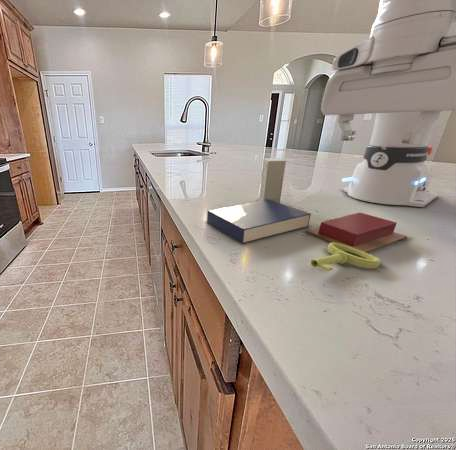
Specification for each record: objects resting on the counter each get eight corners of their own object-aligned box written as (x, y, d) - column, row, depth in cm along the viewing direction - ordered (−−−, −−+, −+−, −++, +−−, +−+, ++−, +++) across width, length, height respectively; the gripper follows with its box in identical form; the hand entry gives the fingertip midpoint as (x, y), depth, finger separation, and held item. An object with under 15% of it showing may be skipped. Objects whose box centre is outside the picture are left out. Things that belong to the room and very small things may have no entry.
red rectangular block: (356, 222, 53) (359, 212, 52) (392, 233, 47) (397, 222, 46) (318, 233, 49) (320, 222, 48) (352, 246, 43) (356, 234, 42)
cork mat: (350, 220, 55) (351, 219, 55) (406, 238, 46) (407, 236, 46) (306, 232, 50) (307, 230, 50) (360, 254, 42) (361, 252, 41)
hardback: (265, 210, 63) (267, 199, 62) (308, 226, 53) (311, 213, 52) (206, 222, 57) (207, 210, 56) (242, 243, 47) (243, 229, 46)
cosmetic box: (279, 207, 65) (287, 160, 60) (261, 206, 66) (268, 161, 61) (273, 200, 71) (280, 157, 66) (257, 200, 72) (263, 157, 67)
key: (306, 272, 37) (309, 260, 36) (330, 245, 45) (333, 235, 44) (366, 294, 32) (371, 280, 31) (381, 260, 40) (386, 248, 39)
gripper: (526, 24, 29) (472, 144, 35) (346, 62, 47) (330, 138, 52) (503, 19, 27) (450, 148, 33) (324, 61, 45) (309, 140, 50)
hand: (375, 142), depth 43 cm, fingers open, 8 cm apart
